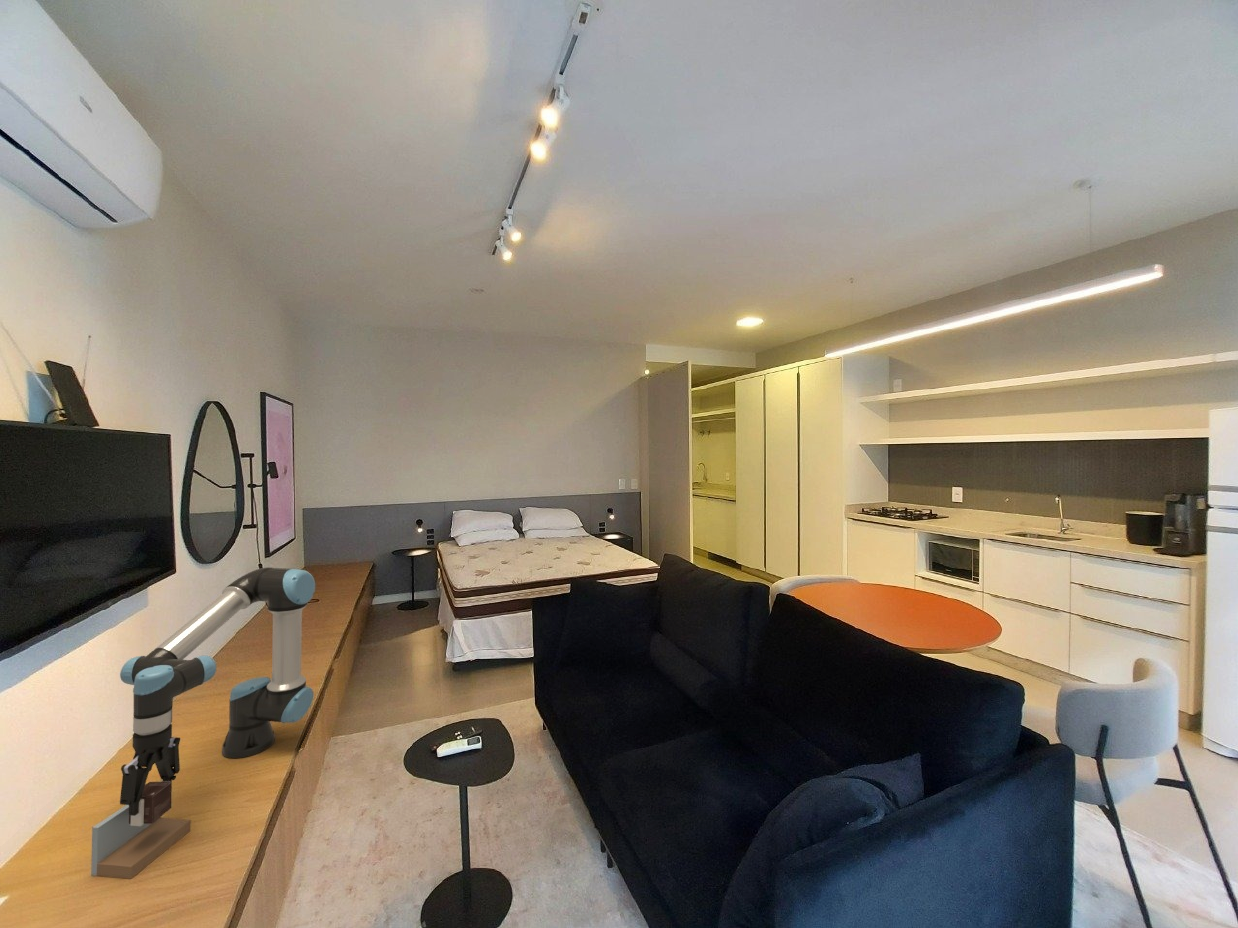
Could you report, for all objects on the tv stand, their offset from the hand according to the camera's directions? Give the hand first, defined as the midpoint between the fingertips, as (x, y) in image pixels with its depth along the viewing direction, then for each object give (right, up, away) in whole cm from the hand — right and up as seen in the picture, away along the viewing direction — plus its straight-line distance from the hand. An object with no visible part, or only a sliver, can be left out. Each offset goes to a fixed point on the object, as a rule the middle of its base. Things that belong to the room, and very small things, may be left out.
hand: (150, 815), depth 131 cm
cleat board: (-2, -10, 0) cm, 10 cm away
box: (0, -1, 0) cm, 1 cm away
